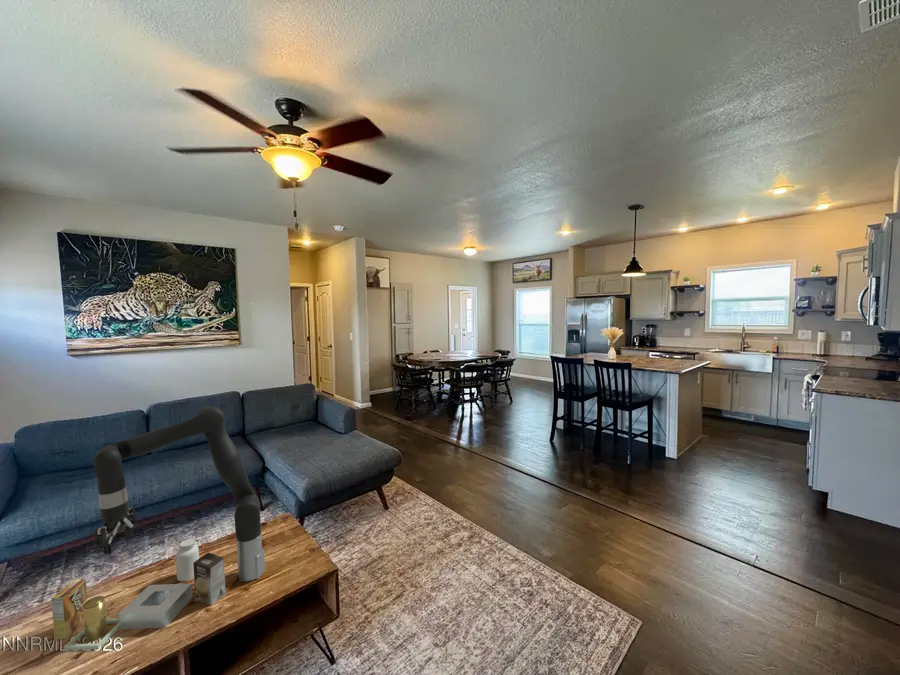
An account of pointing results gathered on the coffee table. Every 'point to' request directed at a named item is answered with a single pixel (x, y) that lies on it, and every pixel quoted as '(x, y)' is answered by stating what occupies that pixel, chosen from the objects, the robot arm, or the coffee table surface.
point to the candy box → (68, 609)
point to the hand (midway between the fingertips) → (119, 545)
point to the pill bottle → (186, 559)
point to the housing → (155, 606)
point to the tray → (91, 646)
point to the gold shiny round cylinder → (94, 618)
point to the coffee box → (209, 578)
